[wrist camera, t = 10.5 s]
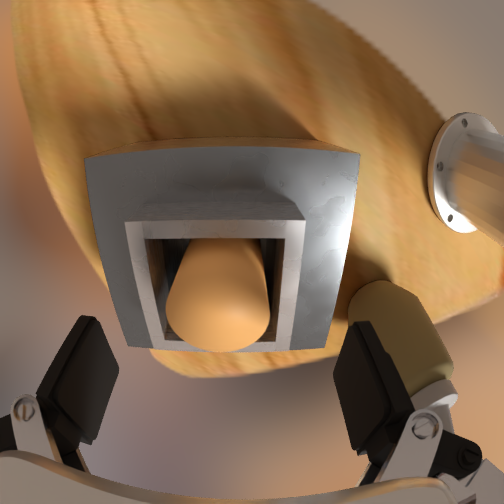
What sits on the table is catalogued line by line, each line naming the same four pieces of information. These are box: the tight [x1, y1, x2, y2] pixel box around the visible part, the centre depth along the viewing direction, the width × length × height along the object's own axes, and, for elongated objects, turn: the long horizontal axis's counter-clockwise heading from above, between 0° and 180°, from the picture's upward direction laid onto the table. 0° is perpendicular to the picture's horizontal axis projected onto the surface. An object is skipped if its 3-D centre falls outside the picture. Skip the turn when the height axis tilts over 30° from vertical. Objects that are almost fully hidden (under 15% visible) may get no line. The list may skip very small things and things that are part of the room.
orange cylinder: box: [166, 238, 270, 352], centre depth 15 cm, size 4×4×9 cm
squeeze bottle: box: [348, 280, 458, 434], centre depth 19 cm, size 8×8×18 cm
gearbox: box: [84, 137, 360, 352], centre depth 17 cm, size 14×13×10 cm
